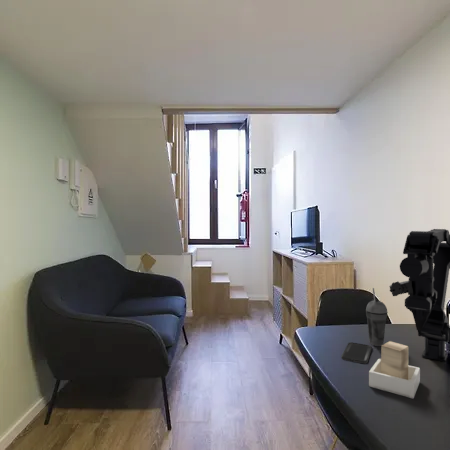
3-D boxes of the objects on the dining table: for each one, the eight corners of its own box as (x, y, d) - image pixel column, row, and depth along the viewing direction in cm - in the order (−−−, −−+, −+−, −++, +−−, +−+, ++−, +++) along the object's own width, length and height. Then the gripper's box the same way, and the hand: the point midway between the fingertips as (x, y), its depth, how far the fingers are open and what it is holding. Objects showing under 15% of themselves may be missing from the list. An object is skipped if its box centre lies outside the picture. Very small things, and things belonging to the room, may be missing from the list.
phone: (372, 345, 120) (366, 361, 106) (372, 349, 120) (366, 365, 107) (348, 341, 123) (340, 356, 110) (348, 344, 123) (340, 360, 110)
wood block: (389, 376, 97) (389, 341, 97) (408, 382, 93) (408, 346, 93) (381, 381, 94) (381, 345, 94) (400, 388, 90) (400, 350, 90)
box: (378, 372, 101) (378, 358, 101) (419, 382, 95) (419, 367, 94) (368, 386, 92) (369, 371, 92) (413, 398, 86) (413, 382, 86)
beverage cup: (391, 347, 120) (391, 290, 119) (370, 347, 120) (370, 290, 120) (382, 340, 127) (382, 286, 127) (362, 340, 127) (362, 286, 127)
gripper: (398, 267, 114) (397, 315, 114) (385, 275, 99) (384, 329, 99) (437, 270, 107) (437, 320, 107) (430, 279, 92) (429, 337, 92)
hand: (421, 326), depth 102 cm, fingers open, 9 cm apart
